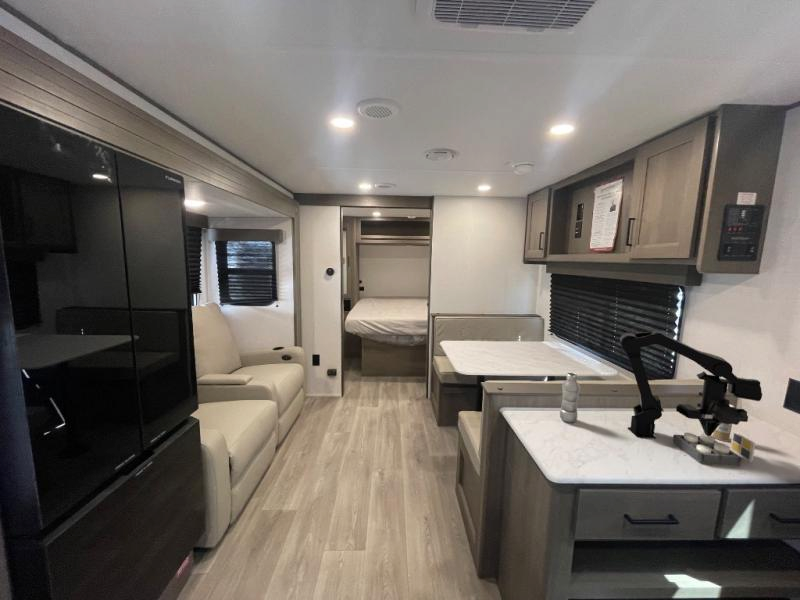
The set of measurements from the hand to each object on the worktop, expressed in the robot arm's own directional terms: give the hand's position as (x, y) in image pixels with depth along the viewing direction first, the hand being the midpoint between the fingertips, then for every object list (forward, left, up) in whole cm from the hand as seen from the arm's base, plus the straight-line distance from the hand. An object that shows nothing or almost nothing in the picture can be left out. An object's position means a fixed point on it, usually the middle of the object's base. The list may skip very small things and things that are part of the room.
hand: (707, 435), depth 109 cm
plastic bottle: (-40, +15, -6) cm, 43 cm away
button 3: (0, 0, -3) cm, 3 cm away
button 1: (-5, 0, -3) cm, 6 cm away
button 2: (-5, -5, -4) cm, 9 cm away
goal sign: (+9, -3, -5) cm, 11 cm away
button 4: (0, -5, -3) cm, 6 cm away
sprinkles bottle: (+12, +8, -6) cm, 16 cm away
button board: (-3, -3, -5) cm, 7 cm away
